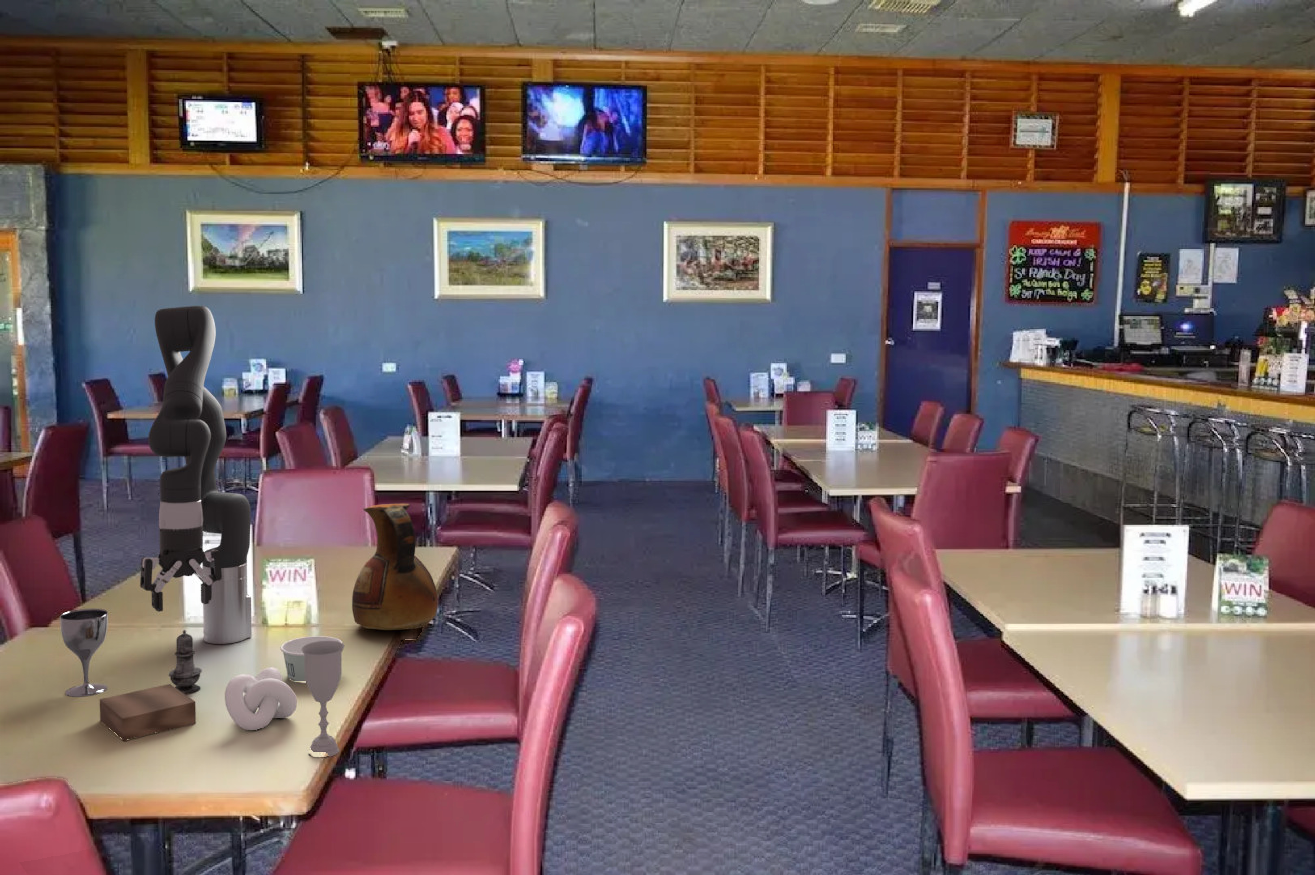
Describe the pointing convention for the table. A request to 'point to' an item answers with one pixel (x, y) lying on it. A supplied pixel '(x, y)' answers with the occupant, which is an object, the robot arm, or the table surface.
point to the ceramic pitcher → (394, 576)
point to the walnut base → (147, 711)
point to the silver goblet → (84, 643)
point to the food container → (299, 655)
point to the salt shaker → (185, 666)
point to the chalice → (323, 685)
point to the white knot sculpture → (259, 699)
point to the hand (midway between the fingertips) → (182, 607)
